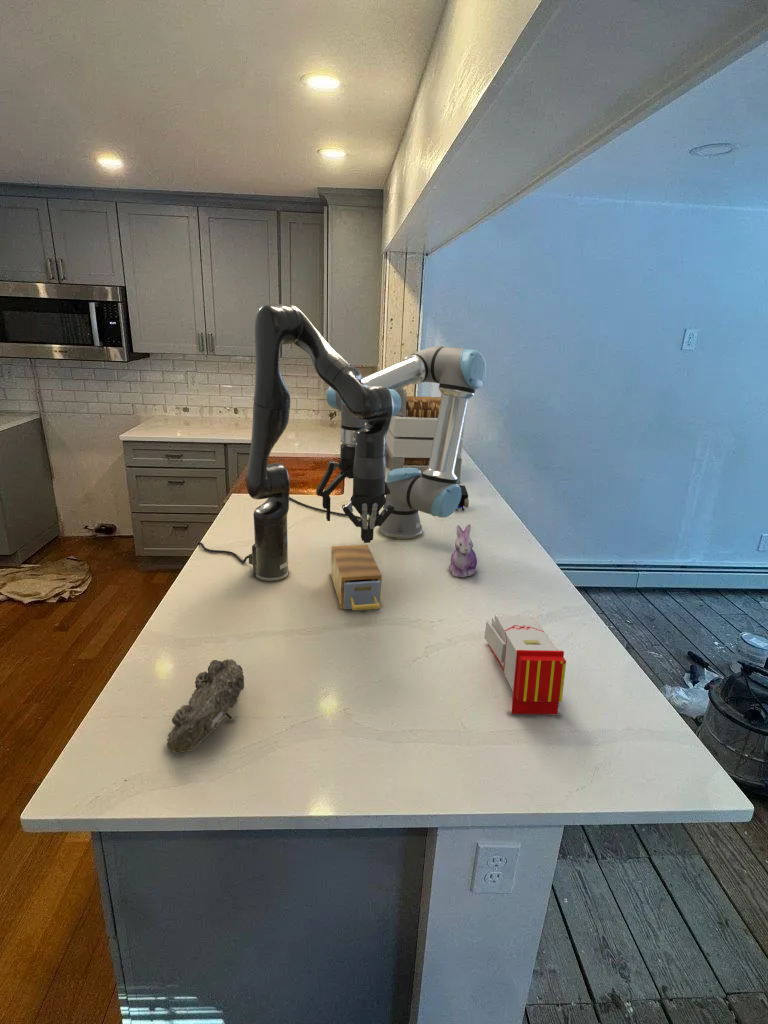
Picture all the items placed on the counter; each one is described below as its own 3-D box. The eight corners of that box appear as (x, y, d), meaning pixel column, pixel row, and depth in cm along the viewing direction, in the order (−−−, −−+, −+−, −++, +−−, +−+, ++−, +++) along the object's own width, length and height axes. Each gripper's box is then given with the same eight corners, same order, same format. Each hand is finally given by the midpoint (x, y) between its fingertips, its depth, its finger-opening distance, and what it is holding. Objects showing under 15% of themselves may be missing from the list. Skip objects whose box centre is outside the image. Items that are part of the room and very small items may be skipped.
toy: (530, 600, 137) (574, 657, 108) (525, 651, 140) (567, 720, 111) (480, 599, 137) (511, 656, 107) (477, 651, 139) (506, 719, 110)
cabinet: (380, 606, 151) (381, 575, 148) (340, 608, 149) (341, 577, 146) (366, 572, 170) (367, 544, 167) (331, 574, 167) (331, 546, 164)
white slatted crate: (382, 463, 289) (386, 382, 275) (445, 464, 293) (451, 384, 279) (390, 482, 257) (394, 392, 243) (460, 483, 261) (468, 394, 247)
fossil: (192, 660, 117) (244, 628, 112) (224, 691, 120) (276, 661, 115) (142, 746, 98) (202, 712, 93) (182, 779, 101) (242, 748, 96)
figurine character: (468, 516, 224) (463, 500, 237) (471, 498, 221) (465, 483, 234) (452, 515, 224) (447, 499, 237) (453, 498, 220) (449, 482, 234)
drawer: (384, 617, 144) (385, 592, 141) (347, 620, 142) (348, 595, 139) (366, 574, 166) (367, 552, 164) (334, 576, 164) (334, 554, 162)
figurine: (459, 581, 167) (464, 533, 161) (440, 567, 175) (444, 521, 170) (485, 575, 171) (490, 529, 166) (465, 562, 179) (470, 517, 174)
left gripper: (343, 478, 127) (342, 549, 133) (400, 477, 130) (396, 546, 136) (338, 469, 134) (337, 537, 140) (393, 468, 137) (389, 534, 143)
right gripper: (308, 447, 145) (308, 524, 152) (403, 447, 150) (399, 521, 157) (306, 440, 152) (306, 515, 159) (396, 440, 157) (392, 512, 164)
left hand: (366, 541), depth 138 cm, fingers closed
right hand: (352, 518), depth 158 cm, fingers open, 13 cm apart
